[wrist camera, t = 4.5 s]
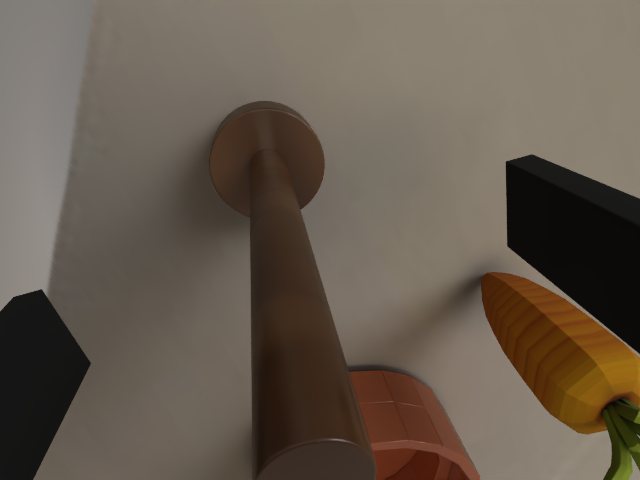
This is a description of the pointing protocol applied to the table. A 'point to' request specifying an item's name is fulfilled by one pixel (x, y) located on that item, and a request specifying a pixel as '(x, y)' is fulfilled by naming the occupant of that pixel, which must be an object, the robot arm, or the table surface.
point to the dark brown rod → (289, 303)
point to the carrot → (568, 363)
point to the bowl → (409, 429)
